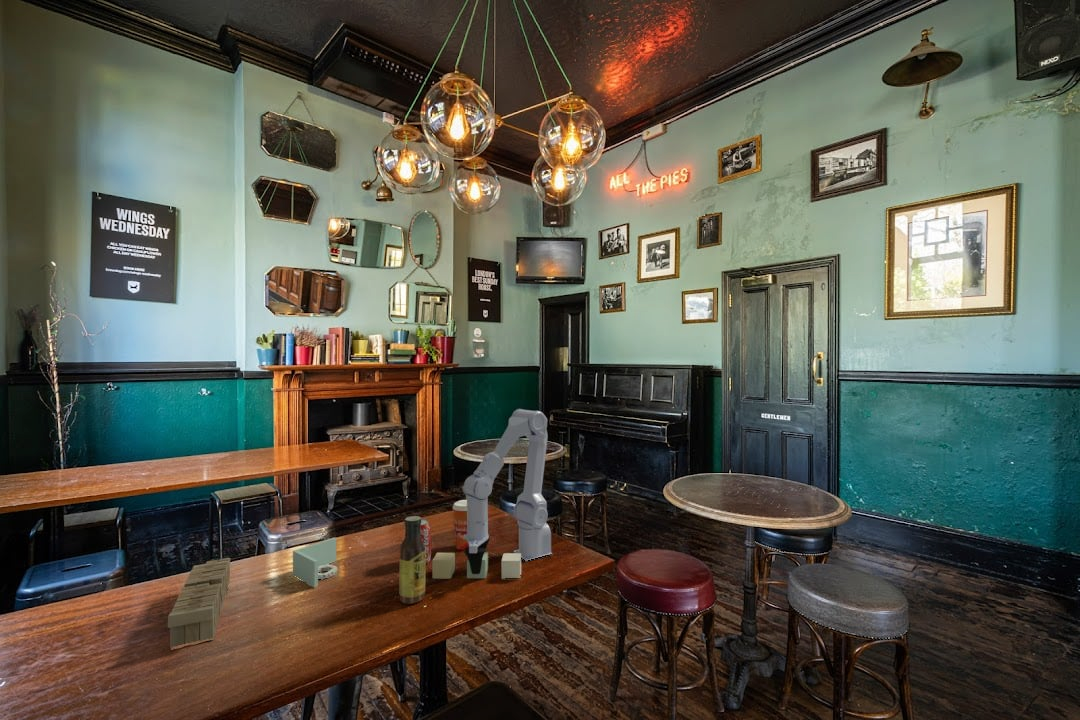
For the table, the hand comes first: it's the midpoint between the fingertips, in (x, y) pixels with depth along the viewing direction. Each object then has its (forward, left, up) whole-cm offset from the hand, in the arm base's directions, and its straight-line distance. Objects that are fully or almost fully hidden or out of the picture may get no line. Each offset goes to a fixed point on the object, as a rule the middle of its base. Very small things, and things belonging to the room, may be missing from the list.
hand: (477, 568), depth 128 cm
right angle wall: (+36, -22, -2) cm, 43 cm away
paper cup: (-4, -20, -2) cm, 20 cm away
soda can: (+12, -16, -2) cm, 20 cm away
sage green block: (0, 0, -1) cm, 1 cm away
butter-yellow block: (+8, -5, -2) cm, 10 cm away
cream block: (-8, +5, -2) cm, 10 cm away
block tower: (+63, -14, -2) cm, 65 cm away
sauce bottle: (+19, +4, -2) cm, 20 cm away
